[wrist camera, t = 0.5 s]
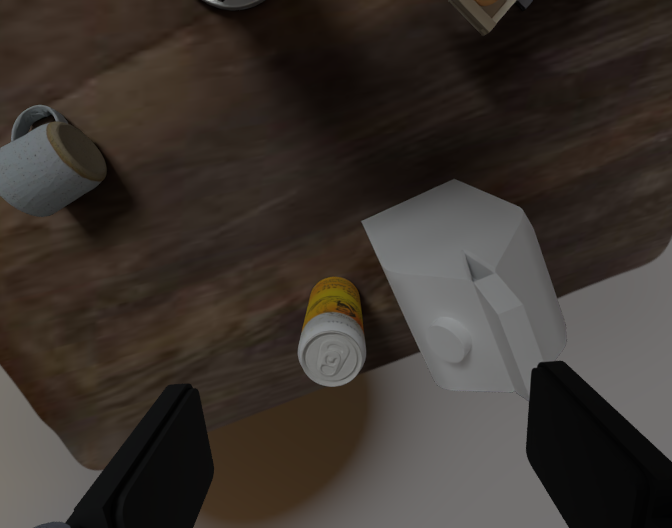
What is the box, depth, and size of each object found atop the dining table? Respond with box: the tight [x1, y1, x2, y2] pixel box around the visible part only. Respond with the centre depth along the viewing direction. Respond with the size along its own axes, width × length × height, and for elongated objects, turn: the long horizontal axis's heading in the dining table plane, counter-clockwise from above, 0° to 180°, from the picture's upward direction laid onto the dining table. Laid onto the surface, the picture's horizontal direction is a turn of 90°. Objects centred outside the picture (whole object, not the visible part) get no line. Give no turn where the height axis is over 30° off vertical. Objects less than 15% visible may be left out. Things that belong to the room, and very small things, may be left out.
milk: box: [361, 179, 567, 401], centre depth 33 cm, size 12×12×26 cm
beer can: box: [298, 277, 366, 387], centre depth 40 cm, size 6×6×15 cm
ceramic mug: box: [0, 105, 107, 217], centre depth 40 cm, size 11×8×8 cm
